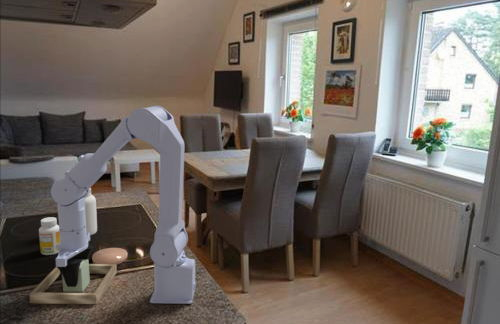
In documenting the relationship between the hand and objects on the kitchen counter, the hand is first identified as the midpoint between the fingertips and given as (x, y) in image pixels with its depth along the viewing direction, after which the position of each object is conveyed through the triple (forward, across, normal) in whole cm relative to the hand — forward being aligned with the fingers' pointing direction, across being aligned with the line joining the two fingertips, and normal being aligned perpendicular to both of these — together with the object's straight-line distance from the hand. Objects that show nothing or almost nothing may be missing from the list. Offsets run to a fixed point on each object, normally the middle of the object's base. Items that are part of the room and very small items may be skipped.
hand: (76, 280), depth 93 cm
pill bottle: (+2, -33, -11) cm, 35 cm away
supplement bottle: (+2, -19, -15) cm, 24 cm away
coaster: (+2, -15, +3) cm, 15 cm away
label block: (+2, 0, 0) cm, 2 cm away
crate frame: (+2, 0, 0) cm, 2 cm away
